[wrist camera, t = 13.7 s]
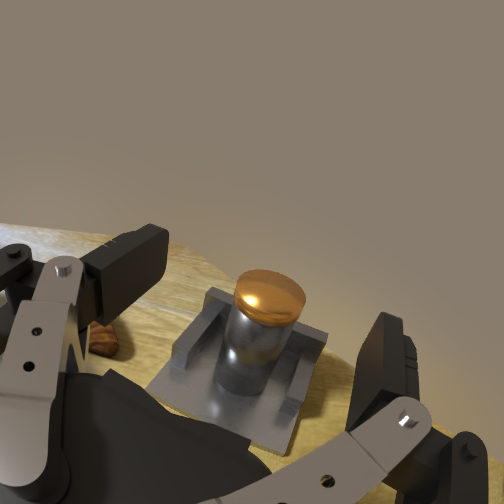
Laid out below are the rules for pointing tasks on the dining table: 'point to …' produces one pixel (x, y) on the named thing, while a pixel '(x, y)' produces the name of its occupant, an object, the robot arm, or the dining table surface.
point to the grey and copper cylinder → (257, 330)
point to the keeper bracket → (225, 403)
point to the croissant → (103, 339)
